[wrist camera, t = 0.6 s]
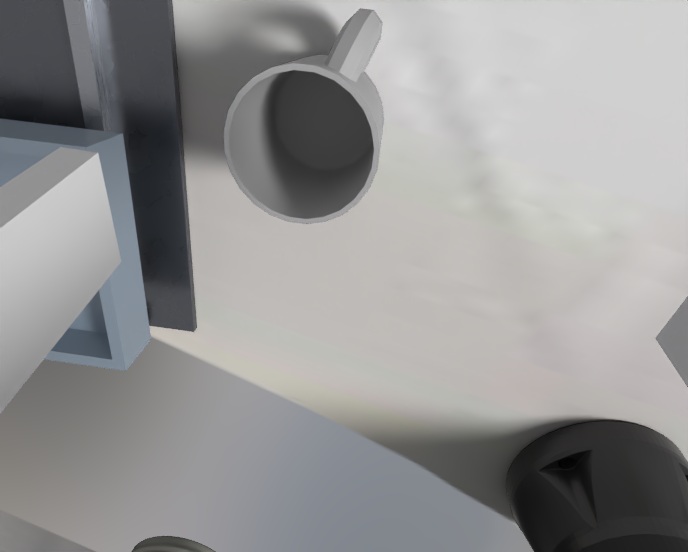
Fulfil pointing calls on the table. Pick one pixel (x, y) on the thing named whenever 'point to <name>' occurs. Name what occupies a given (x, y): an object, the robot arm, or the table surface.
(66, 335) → the cart
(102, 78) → the track
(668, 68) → the table surface
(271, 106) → the cup
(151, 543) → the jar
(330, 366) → the table surface
